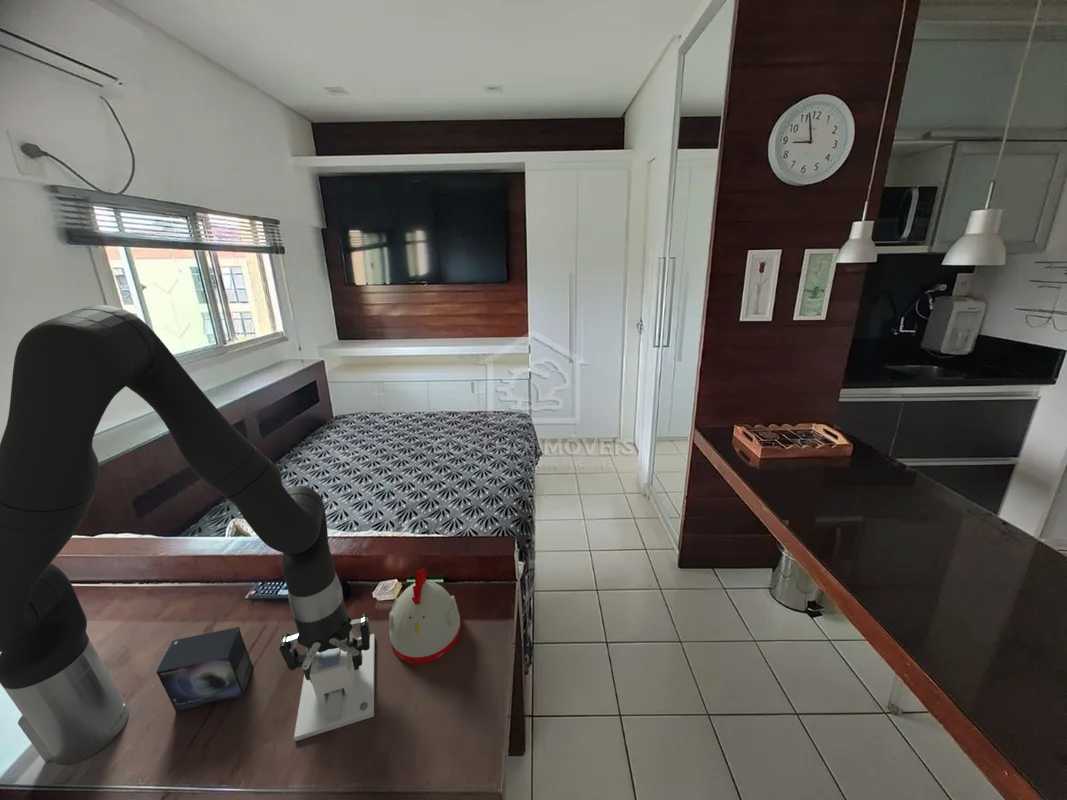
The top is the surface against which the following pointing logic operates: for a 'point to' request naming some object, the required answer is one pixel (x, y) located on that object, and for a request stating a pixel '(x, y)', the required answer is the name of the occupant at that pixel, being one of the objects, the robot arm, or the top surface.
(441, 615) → the kitchen timer
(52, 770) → the top surface
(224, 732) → the top surface
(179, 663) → the small box
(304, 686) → the mounting plate
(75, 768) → the top surface
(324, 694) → the block
